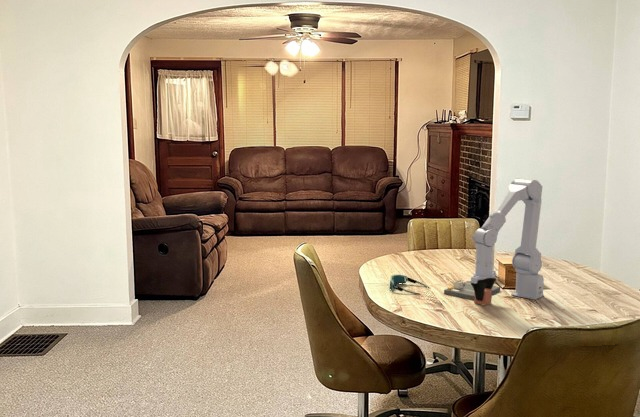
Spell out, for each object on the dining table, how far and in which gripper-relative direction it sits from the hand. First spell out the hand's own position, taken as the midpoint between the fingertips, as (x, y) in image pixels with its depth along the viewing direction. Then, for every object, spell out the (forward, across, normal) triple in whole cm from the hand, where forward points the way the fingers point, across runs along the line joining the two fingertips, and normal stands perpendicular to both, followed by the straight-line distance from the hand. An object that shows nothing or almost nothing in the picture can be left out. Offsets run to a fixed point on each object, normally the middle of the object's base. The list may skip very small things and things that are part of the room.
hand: (482, 298), depth 220 cm
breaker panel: (+2, +10, +10) cm, 15 cm away
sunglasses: (+2, -2, +31) cm, 31 cm away
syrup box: (+2, +38, +19) cm, 43 cm away
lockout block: (+1, 0, 0) cm, 1 cm away
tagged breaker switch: (0, +7, +14) cm, 16 cm away
